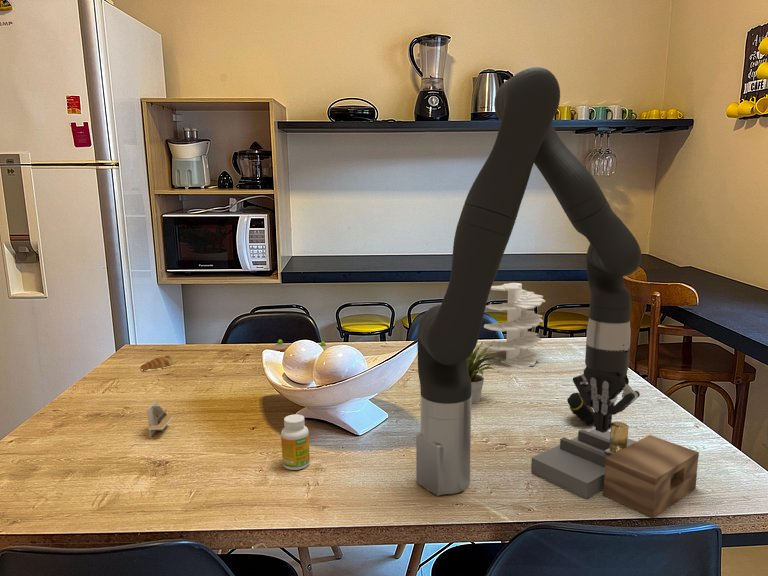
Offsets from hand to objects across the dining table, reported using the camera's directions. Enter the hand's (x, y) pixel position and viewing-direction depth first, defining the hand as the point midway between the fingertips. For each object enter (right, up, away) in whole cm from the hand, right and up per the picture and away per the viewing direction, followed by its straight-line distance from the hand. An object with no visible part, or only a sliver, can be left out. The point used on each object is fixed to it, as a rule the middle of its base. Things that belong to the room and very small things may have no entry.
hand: (602, 430), depth 106 cm
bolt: (+4, -6, -5) cm, 9 cm away
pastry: (-113, +1, +64) cm, 130 cm away
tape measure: (+4, -4, +24) cm, 24 cm away
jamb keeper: (+6, -9, -7) cm, 13 cm away
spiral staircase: (-2, +4, +67) cm, 68 cm away
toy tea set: (-65, +3, +68) cm, 94 cm away
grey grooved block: (-1, -8, +3) cm, 8 cm away
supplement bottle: (-59, -8, +5) cm, 60 cm away
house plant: (-20, -2, +36) cm, 41 cm away
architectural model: (-92, -6, +20) cm, 95 cm away
